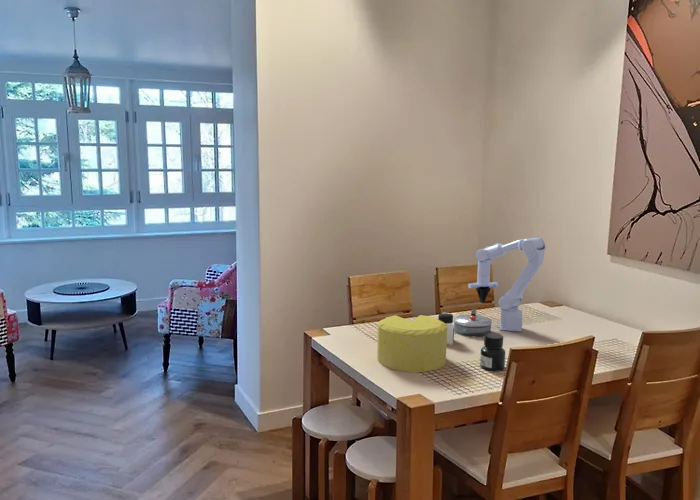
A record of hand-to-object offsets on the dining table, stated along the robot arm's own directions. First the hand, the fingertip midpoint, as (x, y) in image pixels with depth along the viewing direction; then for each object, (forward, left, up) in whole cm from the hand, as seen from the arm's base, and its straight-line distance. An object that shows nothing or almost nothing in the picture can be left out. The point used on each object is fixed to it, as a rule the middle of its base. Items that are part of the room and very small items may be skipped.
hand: (482, 302), depth 281 cm
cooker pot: (+4, +15, -9) cm, 18 cm away
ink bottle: (-4, +62, -10) cm, 63 cm away
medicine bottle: (+15, +35, -10) cm, 39 cm away
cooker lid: (+4, +14, -5) cm, 16 cm away
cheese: (+26, +61, -10) cm, 67 cm away
